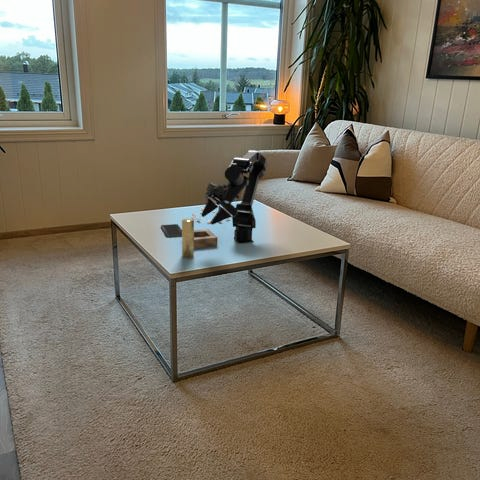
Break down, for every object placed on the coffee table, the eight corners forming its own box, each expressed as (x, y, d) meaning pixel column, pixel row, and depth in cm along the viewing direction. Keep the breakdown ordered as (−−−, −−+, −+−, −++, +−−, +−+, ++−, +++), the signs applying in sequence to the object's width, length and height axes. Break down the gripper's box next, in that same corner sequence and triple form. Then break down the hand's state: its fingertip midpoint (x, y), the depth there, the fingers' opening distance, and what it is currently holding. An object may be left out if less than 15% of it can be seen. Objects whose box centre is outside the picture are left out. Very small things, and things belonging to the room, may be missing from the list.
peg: (191, 253, 180) (191, 218, 175) (195, 257, 176) (195, 221, 171) (180, 254, 178) (180, 219, 173) (183, 258, 174) (183, 222, 170)
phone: (166, 235, 196) (160, 225, 209) (166, 238, 196) (160, 227, 209) (185, 234, 198) (177, 223, 211) (185, 237, 198) (177, 226, 212)
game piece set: (187, 213, 232) (187, 206, 230) (226, 211, 237) (226, 204, 236) (194, 225, 214) (194, 217, 213) (236, 223, 219) (236, 215, 218)
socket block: (208, 236, 198) (208, 229, 197) (217, 245, 189) (217, 237, 188) (183, 239, 194) (183, 231, 193) (191, 248, 185) (191, 240, 184)
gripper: (210, 169, 180) (183, 200, 180) (230, 181, 165) (201, 215, 164) (228, 187, 186) (203, 217, 186) (249, 200, 171) (221, 232, 171)
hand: (206, 220), depth 177 cm, fingers open, 9 cm apart
